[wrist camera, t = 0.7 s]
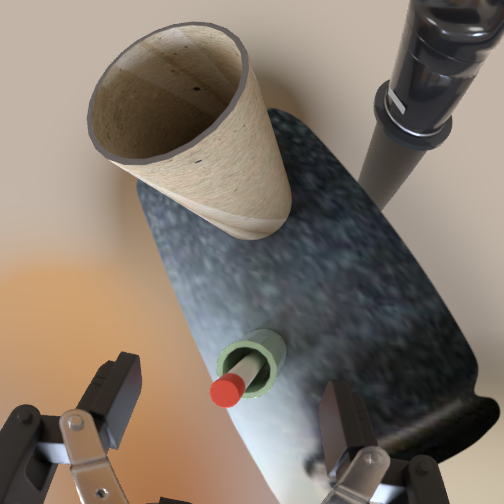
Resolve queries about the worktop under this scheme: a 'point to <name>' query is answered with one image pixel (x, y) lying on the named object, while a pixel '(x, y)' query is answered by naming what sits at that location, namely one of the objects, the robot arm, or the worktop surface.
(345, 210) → the worktop surface
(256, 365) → the marker
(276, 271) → the worktop surface
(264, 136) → the tube
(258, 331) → the green pencil holder
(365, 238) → the worktop surface
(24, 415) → the robot arm
